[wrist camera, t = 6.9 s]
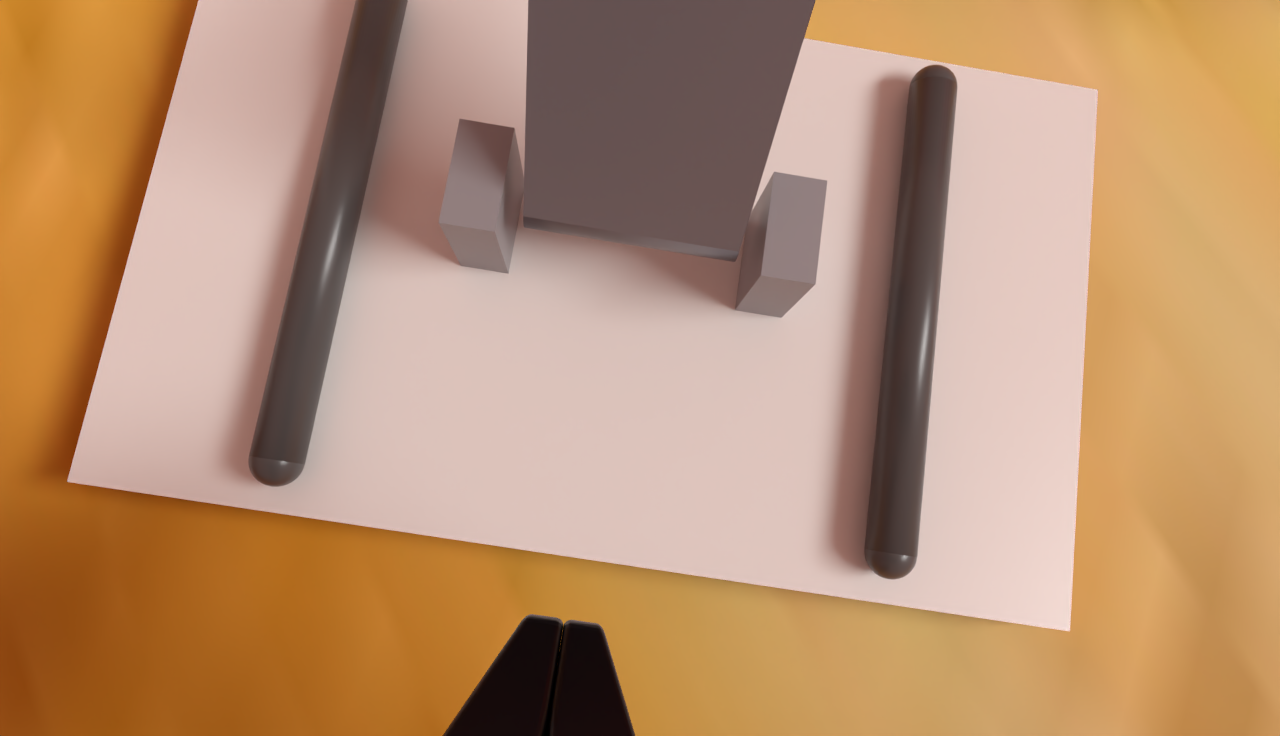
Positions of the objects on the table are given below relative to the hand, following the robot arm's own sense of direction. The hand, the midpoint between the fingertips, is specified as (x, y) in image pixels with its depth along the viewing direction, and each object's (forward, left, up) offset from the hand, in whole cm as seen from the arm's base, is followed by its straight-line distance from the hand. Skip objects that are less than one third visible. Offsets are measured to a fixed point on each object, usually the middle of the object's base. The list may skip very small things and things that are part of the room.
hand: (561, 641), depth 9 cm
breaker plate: (+7, 0, -8) cm, 11 cm away
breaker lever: (+7, 0, -5) cm, 9 cm away
